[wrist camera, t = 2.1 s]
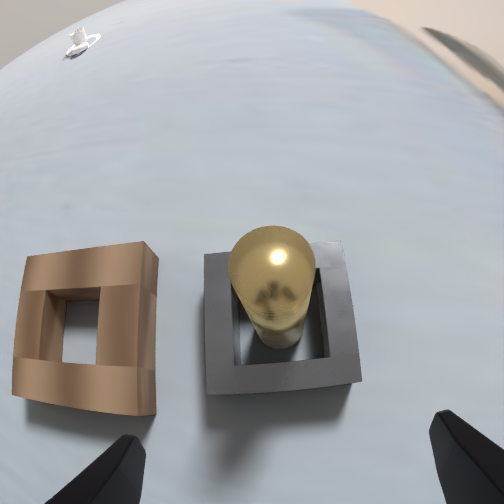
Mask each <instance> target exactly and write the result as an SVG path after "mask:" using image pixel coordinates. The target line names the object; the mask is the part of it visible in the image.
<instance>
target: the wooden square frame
mask: <svg viewBox="0 0 504 504" xmlns="http://www.w3.org/2000/svg"><path fill="white" fill-rule="evenodd" d="M158 260H159V258H158V257H157V256H156V255H155V253H154V252H153V251H152V250H151V249H150V248H149V247H148V245H147V244H146V243H145V242H144V241H142V242H133V243H125V244H117V245H109V246H102V247H94V248H86V249H79V250H71V251H64V252H57V253H49V254H42V255H35V256H28V257H27V260H26V265H25V270H24V275H23V281H22V286H21V292H20V299H19V305H18V313H17V321H16V330H15V340H14V352H13V370H12V395H15V396H19V397H23V398H27V399H31V400H36V401H40V402H45V403H50V404H55V405H60V406H66V407H71V408H77V409H84V410H90V411H97V412H105V413H113V414H122V415H132V416H144V415H154V414H156V387H155V331H156V298H157V277H158ZM88 300H100V302H99V314H98V328H97V347H96V365H89V364H75V363H64V362H62V347H63V332H64V321H65V311H66V302H67V301H88Z"/></svg>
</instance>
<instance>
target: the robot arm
mask: <svg viewBox="0 0 504 504" xmlns="http://www.w3.org/2000/svg"><path fill="white" fill-rule="evenodd" d="M429 436H430V440H431V445H432V449H433V454H434V459H435V464H436V469H437V474H438V477H439V481H440V484H441V487H442V490H443V493H444V497H445V500H446V503H447V504H504V449H502V448H501V447H499V446H498V445H497V444H495V443H494V442H493V441H491V440H490V439H488V438H487V437H486V436H484V435H483V434H482V433H480V432H479V431H478V430H476V429H475V428H473V427H472V426H471V425H469V424H468V423H467V422H465V421H464V420H463V419H461V418H460V417H458V416H457V415H456V414H454V413H453V412H452V411H450V410H443V411H439V412H437V413H436V414H435V416H434V418H433V421H432V423H431V426H430V429H429ZM145 459H146V452H145V449H144V448H143V446H142V444H141V443H140V441H139V439H138V438H137V437H136V436H134V435H127V434H126V435H123V436H121V437H120V438H119V439H118V440H117V441H116V442H115V443H113V444H112V445H111V446H110V447H109V448H108V449H107V450H106V451H105V452H104V453H102V454H101V455H100V456H99V457H98V458H97V459H96V460H95V461H93V462H92V463H91V464H90V465H89V466H88V467H87V468H86V469H84V470H83V471H82V472H81V473H80V474H79V475H78V476H76V477H75V478H74V479H73V480H72V481H71V482H69V483H68V484H67V485H66V486H65V487H64V488H62V489H61V490H60V491H59V492H58V493H57V494H55V495H54V496H53V497H52V498H51V499H49V500H48V501H47V502H46V503H45V504H139V502H140V498H141V492H142V484H143V475H144V467H145Z"/></svg>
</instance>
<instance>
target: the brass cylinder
mask: <svg viewBox="0 0 504 504" xmlns="http://www.w3.org/2000/svg"><path fill="white" fill-rule="evenodd" d="M315 270H316V262H315V256H314V253H313V250H312V248H311V246H310V245H309V243H308V242H307V241H306V240H305V239H304V238H303V237H302V236H301V235H300V234H298V233H297V232H295V231H293V230H291V229H288V228H285V227H281V226H265V227H261V228H257V229H255V230H252V231H251V232H249V233H247V234H246V235H244V236H243V237H242V238H241V239H240V240H239V241H238V242H237V243H236V245H235V246H234V248H233V250H232V252H231V254H230V257H229V262H228V274H229V278H230V281H231V283H232V285H233V287H234V289H235V291H236V293H237V295H238V297H239V299H240V301H241V303H242V305H243V307H244V309H245V311H246V313H247V314H248V316H249V318H250V320H251V322H252V324H253V326H254V328H255V330H256V332H257V334H258V335H259V337H260V339H261V340H262V341H263V342H264V343H265V344H266V345H267V346H269V347H272V348H275V349H285V348H288V347H291V346H292V345H294V344H295V343H296V342H297V341H298V340H299V339H300V337H301V335H302V333H303V329H304V324H305V320H306V315H307V310H308V305H309V301H310V296H311V291H312V286H313V281H314V276H315Z"/></svg>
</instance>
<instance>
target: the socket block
mask: <svg viewBox="0 0 504 504" xmlns="http://www.w3.org/2000/svg"><path fill="white" fill-rule="evenodd" d="M309 245H310V246H311V248H312V250H313V253H314V256H315V262H316V270H315V276H314V281H313V284H316V286H317V294H318V302H319V310H320V319H321V327H322V336H323V346H324V356H325V358H320V359H311V360H302V361H291V362H280V363H268V364H254V365H241V352H240V332H239V310H238V295H237V293H236V291H235V289H234V287H233V285H232V283H231V281H230V278H229V274H228V262H229V257H230V254H231V252H222V253H212V254H204V319H205V362H206V390H207V395H224V394H250V393H266V392H280V391H291V390H302V389H311V388H320V387H328V386H335V385H342V384H349V383H356V382H361V381H362V376H361V366H360V358H359V349H358V341H357V333H356V326H355V319H354V312H353V305H352V299H351V292H350V286H349V280H348V274H347V269H346V263H345V257H344V252H343V247H342V241H334V242H324V243H314V244H309Z"/></svg>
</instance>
